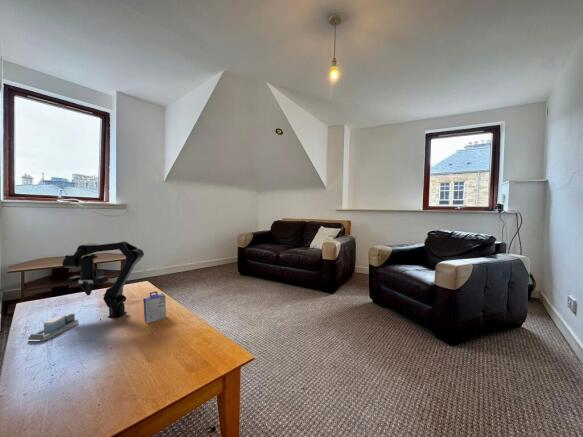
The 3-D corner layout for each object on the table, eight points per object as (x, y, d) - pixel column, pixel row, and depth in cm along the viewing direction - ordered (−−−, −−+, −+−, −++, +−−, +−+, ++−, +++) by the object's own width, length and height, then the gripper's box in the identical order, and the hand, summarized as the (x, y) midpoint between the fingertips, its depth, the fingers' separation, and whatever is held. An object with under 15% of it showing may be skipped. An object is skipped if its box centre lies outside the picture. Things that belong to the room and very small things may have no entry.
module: (65, 326, 122) (64, 316, 122) (52, 332, 116) (52, 322, 116) (56, 326, 123) (56, 316, 122) (44, 332, 117) (43, 322, 116)
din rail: (78, 323, 128) (77, 313, 128) (44, 341, 111) (43, 329, 111) (64, 323, 128) (63, 313, 128) (28, 341, 111) (27, 329, 111)
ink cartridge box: (163, 314, 138) (162, 289, 137) (167, 317, 134) (166, 291, 133) (143, 320, 131) (142, 293, 130) (146, 324, 127) (145, 296, 126)
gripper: (115, 263, 142) (116, 290, 143) (83, 263, 143) (85, 289, 144) (99, 268, 131) (100, 297, 132) (65, 268, 132) (67, 297, 133)
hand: (88, 295), depth 135 cm, fingers closed
